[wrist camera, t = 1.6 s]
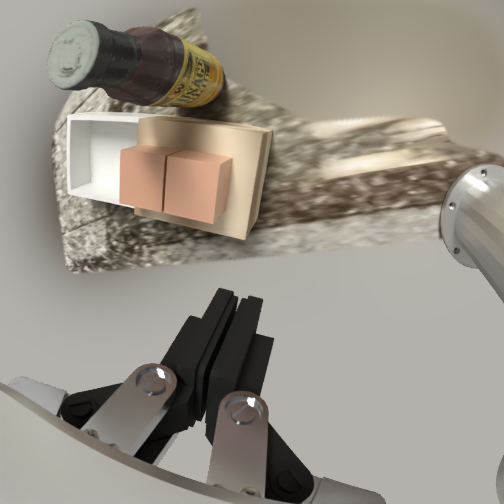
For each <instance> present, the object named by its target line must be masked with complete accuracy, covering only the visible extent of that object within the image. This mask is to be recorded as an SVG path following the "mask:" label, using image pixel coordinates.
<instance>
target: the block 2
mask: <svg viewBox="0 0 504 504" xmlns="http://www.w3.org/2000/svg"><path fill="white" fill-rule="evenodd" d="M232 158H233V157H227V156H221V155H216V154H209V153H203V152H197V151H190V150H183V151H180V152H177V153H175V154H172V155H169V156H168V158H167V171H166V185H165V203H164V213H166V214H170V215H175V216H179V217H184V218H188V219H193V220H197V221H202V222H206V223H210V224H214V222H215V221H216V220H217V219H218V218H219V217H220V216H221V215H222V214H223V212H224V211H225V209H226V201H227V194H228V187H229V179H230V172H231V165H232Z"/></svg>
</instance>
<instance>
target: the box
mask: <svg viewBox="0 0 504 504" xmlns="http://www.w3.org/2000/svg"><path fill="white" fill-rule="evenodd" d="M155 116H164V115H159V114H145V113H126V112H85V113H78V114H72V115H68V117H67V185H68V194H70V195H75V196H80V197H84V198H89V199H94V200H99V201H103V202H108V203H113V204H117V205H122V206H127V207H131V208H134V206H129V205H125V204H120V203H119V180H120V150H122V149H125V148H129V147H132V146H136V145H137V133H138V121H139V118H147V117H155Z"/></svg>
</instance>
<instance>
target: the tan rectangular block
mask: <svg viewBox="0 0 504 504" xmlns="http://www.w3.org/2000/svg"><path fill="white" fill-rule="evenodd" d="M272 134H273V130H272V129H267V128H261V127H256V126H250V125H244V124H237V123H231V122H224V121H216V120H209V119H200V118H191V117H182V116H171V115H164V116H155V117H147V118H139V121H138V133H137V145H139V144H145V145H153V146H161V147H169V148H176V149H183V150H190V151H197V152H203V153H209V154H216V155H221V156H227V157H233V158H232V165H231V172H230V179H229V187H228V194H227V201H226V209H225V211H224V212H223V214H222V215H221V216H220V217H219V218H218V219H217V220H216V221H215V222H214V224H210V223H206V222H202V221H197V220H193V219H188V218H184V217H179V216H175V215H170V214H166V213H164V211H163V212H157V211H152V210H148V209H143V208H139V207H134V214H135V215H139V216H143V217H148V218H152V219H156V220H161V221H165V222H169V223H174V224H178V225H182V226H187V227H191V228H195V229H199V230H204V231H208V232H212V233H216V234H221V235H225V236H229V237H233V238H238V239H242V240H245V239H246V238H247V236H248V234H249V232H250V231H251V229H252V227H253V225H254V224H255V222H256V220H257V218H258V213H259V207H260V201H261V196H262V190H263V184H264V179H265V173H266V168H267V162H268V156H269V151H270V145H271V139H272Z"/></svg>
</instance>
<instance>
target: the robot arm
mask: <svg viewBox="0 0 504 504" xmlns="http://www.w3.org/2000/svg"><path fill="white" fill-rule="evenodd" d="M481 171H482V173H481ZM450 203H451V205H449V204H450ZM440 225H441V234H442V237H443V240H444V243H445V245H446V247H447V249H448V251H449V252H450V253H451V255H452V256H453V257H454V258H455V259H456V260H457V261H458V262H459V263H461V264H463V265H464V266H467V267H470V268H478V269H479V270H480V271H481V272H482V274H483V275H484V276H485V278H486V279H487V280H488V282H489V283H490V284H491V286H492V287H493V289H494V290H495V291H496V293H497V294H498V296H499V297H500V298H501V300H502V301H503V303H504V168H503V167H501V166H498V165H495V164H490V163H488V164H479V165H476V166H473V167H471V168H469V169H467V170H466V171H464V172H463V173H462V174H461V175H460V176H459V177H458V178H457V179H456V180H455V181H454V183H453V184H452V185H451V187H450V189H449V191H448V192H447V194H446V197H445V200H444V202H443V206H442V211H441V222H440ZM237 302H238V297H237V296H234V292H233V291H230V290H226V289H222V288H219V289H218V290H217V292H216V294H215V296H214V297H213V299H212V301H211V303H210V304H209V306H208V308H207V310H206V312H205V314H204V315H203V317H202V319H201V318H198V317H195V316H189V317H188V319H187V320H186V322H185V323H184V325H183V327H182V328H181V330H180V332H179V333H178V335H177V337H176V338H175V340H174V341H173V343H172V345H171V346H170V348H169V350H168V352H167V353H166V355H165V356H164V358H163V360H162V361H161V363H160V364H155V363H150V364H145V365H142V366H140V367H138V368H137V369H136V370H135V371H134V372H133V373H132V374H131V375H130V376H129V377H128V378H127V379H126V380H125V381H124V382H123V383H120V384H115V385H111V386H106V387H102V388H97V389H93V390H88V391H84V392H78V393H75V394H72V395H71V394H67V391H65V390H62V389H59V388H56V387H52V386H49V385H47V384H44V383H41V382H38V381H35V380H32V379H29V378H27V377H17V378H14V379H13V380H12V381H10V383H9V384H8V385H5V384H2V383H0V504H386V502H385V499H384V498H383V497H382V496H381V495H380V494H378V493H376V492H373V491H369V490H365V489H362V488H358V487H354V486H351V485H348V484H345V483H341V482H338V481H335V480H332V479H329V478H326V477H323V478H319V477H316V476H313V475H312V474H311V473H310V471H309V470H308V469H307V468H306V467H305V465H304V464H303V463H302V462H301V461H300V460H299V458H298V457H297V456H296V455H295V454H294V453H293V451H292V450H291V449H290V448H289V447H288V446H287V445H286V443H285V442H284V441H283V439H282V438H281V437H280V436H279V435H278V433H277V432H276V431H275V430H274V428H273V427H272V426H271V425H270V423H269V422H268V415H269V414H268V413H269V412H268V407H267V405H266V403H265V401H264V400H263V399H261V397H260V393H261V390H262V385H263V382H264V378H265V373H266V370H267V366H268V362H269V358H270V354H271V350H272V346H273V341H274V338H271V337H267V336H263V335H259V334H256V330H257V325H258V321H259V316H260V312H261V307H262V303H263V299H261V298H257V297H253V296H248V299H245V298H242V299H241V302H240V304H239V306H238V309H237ZM236 309H237V311H236ZM205 411H206V418H205V423H206V434H205V436H206V437H207V439H208V440H209V442H210V443H211V445H212V454H211V459H210V465H209V471H208V478H207V484H205V483H202V482H198V481H195V480H192V479H189V478H186V477H183V476H180V475H177V474H174V473H172V472H169V471H166V470H164V469H161V468H159V467H157V465H158V464H159V462H160V461H161V459H162V458H163V457H164V455H165V454H166V452H167V451H168V449H169V448H170V446H171V445H172V443H173V442H174V441H175V439H176V438H177V436H178V433H179V432H181V431H184V430H187V429H188V427H189V426H191V427H193V426H194V424H195V421H196V420H197V421H201V420H202V418H203V416H204V414H205ZM496 489H497V495H498V499H499V502H500V504H504V455H503V458H502V460H501V462H500V465H499V468H498V472H497V478H496Z"/></svg>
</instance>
